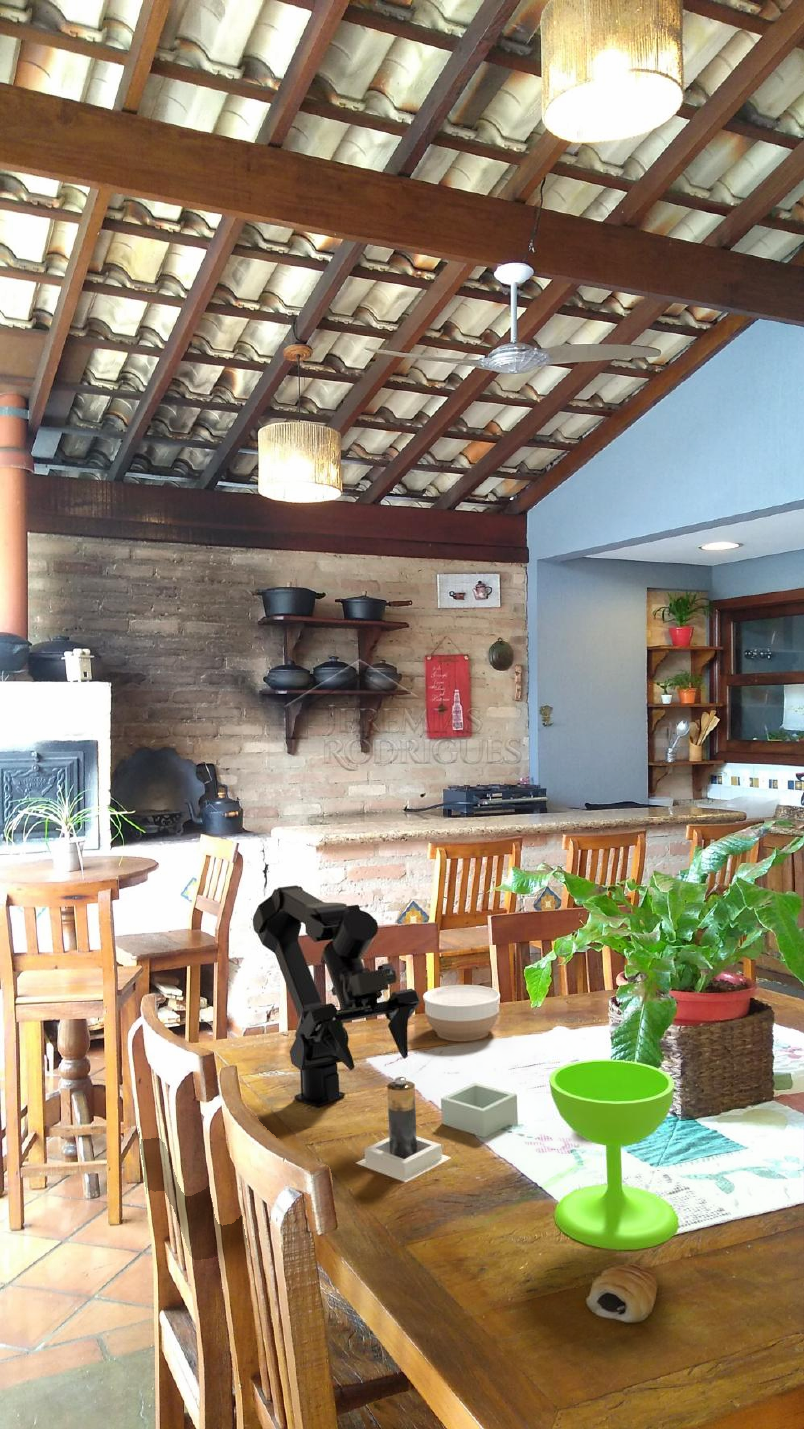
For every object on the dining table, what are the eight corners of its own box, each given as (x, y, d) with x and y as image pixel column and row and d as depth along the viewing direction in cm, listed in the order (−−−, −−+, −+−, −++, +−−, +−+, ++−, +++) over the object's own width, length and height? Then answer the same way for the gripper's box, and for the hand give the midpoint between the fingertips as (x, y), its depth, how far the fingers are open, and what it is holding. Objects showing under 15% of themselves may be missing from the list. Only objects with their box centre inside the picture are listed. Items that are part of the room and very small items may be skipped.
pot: (442, 1129, 166) (441, 1098, 166) (475, 1113, 172) (474, 1083, 172) (484, 1143, 160) (483, 1111, 160) (517, 1125, 166) (516, 1094, 166)
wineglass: (531, 1205, 140) (526, 1072, 140) (630, 1180, 146) (625, 1052, 146) (599, 1262, 125) (593, 1112, 125) (705, 1231, 131) (700, 1089, 131)
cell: (384, 1161, 153) (381, 1079, 153) (402, 1152, 156) (399, 1072, 156) (404, 1168, 150) (401, 1085, 150) (423, 1159, 153) (420, 1077, 153)
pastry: (616, 1274, 123) (615, 1242, 123) (671, 1291, 119) (670, 1257, 119) (583, 1314, 115) (582, 1280, 115) (641, 1333, 111) (640, 1298, 111)
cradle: (355, 1169, 153) (355, 1149, 153) (401, 1147, 160) (401, 1127, 160) (406, 1189, 146) (405, 1167, 146) (451, 1164, 153) (451, 1144, 153)
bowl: (504, 1044, 207) (503, 1004, 207) (424, 1046, 207) (423, 1007, 207) (498, 1020, 223) (497, 983, 223) (423, 1022, 223) (422, 985, 223)
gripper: (308, 956, 159) (340, 1050, 150) (414, 939, 168) (450, 1027, 159) (289, 992, 167) (318, 1084, 158) (392, 974, 176) (425, 1060, 167)
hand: (379, 1063), depth 160 cm, fingers open, 9 cm apart
